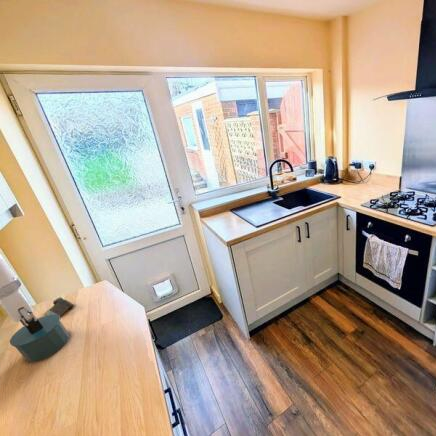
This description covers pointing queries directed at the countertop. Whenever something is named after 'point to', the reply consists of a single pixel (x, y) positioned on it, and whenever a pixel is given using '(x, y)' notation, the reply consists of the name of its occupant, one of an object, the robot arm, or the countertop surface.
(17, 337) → the lid
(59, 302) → the chocolate cake
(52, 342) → the tin
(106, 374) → the countertop surface
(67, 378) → the countertop surface
